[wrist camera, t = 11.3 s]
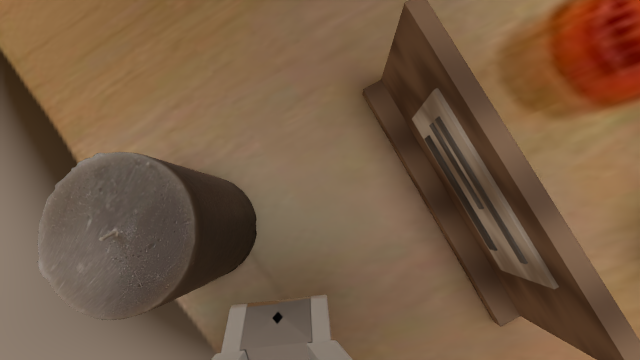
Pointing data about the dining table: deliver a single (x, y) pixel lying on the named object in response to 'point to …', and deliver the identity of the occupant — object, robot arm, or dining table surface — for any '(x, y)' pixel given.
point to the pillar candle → (139, 234)
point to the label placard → (489, 194)
